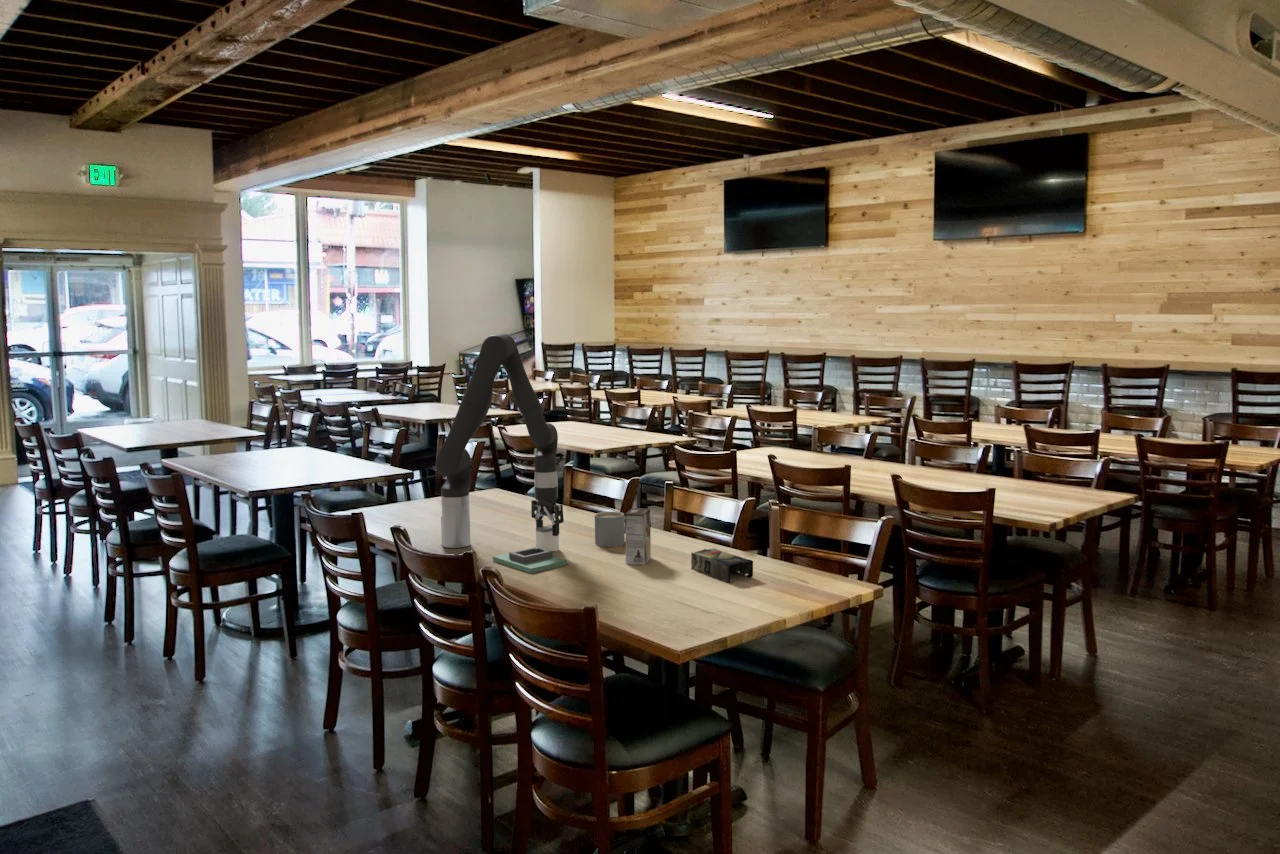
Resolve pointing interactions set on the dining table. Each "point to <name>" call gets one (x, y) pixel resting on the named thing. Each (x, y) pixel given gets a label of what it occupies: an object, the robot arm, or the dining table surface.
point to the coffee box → (638, 536)
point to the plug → (546, 538)
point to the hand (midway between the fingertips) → (547, 533)
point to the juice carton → (720, 564)
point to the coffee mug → (609, 529)
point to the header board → (531, 559)
